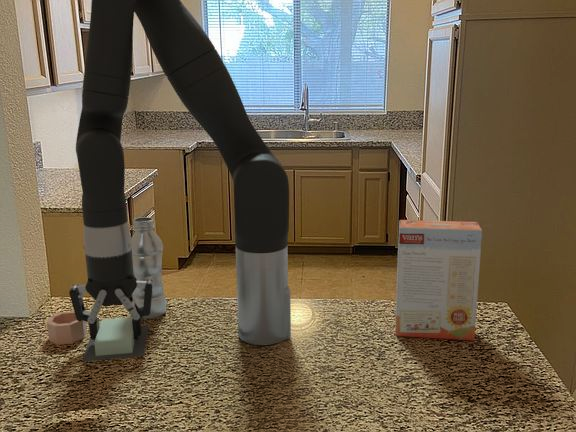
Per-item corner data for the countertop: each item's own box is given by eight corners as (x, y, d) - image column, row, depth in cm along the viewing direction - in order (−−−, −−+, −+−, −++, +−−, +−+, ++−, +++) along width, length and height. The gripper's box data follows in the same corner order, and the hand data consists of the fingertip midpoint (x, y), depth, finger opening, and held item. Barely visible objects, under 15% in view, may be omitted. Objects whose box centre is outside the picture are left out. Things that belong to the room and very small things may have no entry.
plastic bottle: (140, 309, 115) (132, 214, 110) (172, 311, 114) (166, 215, 109) (127, 323, 109) (118, 223, 104) (161, 325, 108) (153, 224, 103)
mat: (148, 329, 106) (148, 324, 106) (144, 361, 95) (144, 355, 95) (93, 334, 105) (93, 329, 104) (82, 367, 93) (81, 361, 93)
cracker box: (470, 327, 106) (478, 220, 101) (474, 342, 100) (484, 229, 95) (394, 322, 109) (399, 217, 103) (394, 336, 103) (399, 226, 97)
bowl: (88, 332, 105) (86, 310, 104) (83, 347, 100) (80, 324, 99) (54, 335, 104) (52, 312, 103) (47, 350, 99) (44, 327, 98)
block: (136, 329, 104) (135, 316, 104) (132, 352, 96) (131, 339, 95) (103, 331, 103) (101, 319, 103) (95, 355, 95) (94, 342, 94)
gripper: (153, 239, 100) (159, 326, 104) (68, 244, 97) (78, 332, 102) (150, 252, 93) (157, 345, 97) (58, 258, 90) (69, 353, 95)
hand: (116, 338), depth 99 cm, fingers closed on block, 6 cm apart
